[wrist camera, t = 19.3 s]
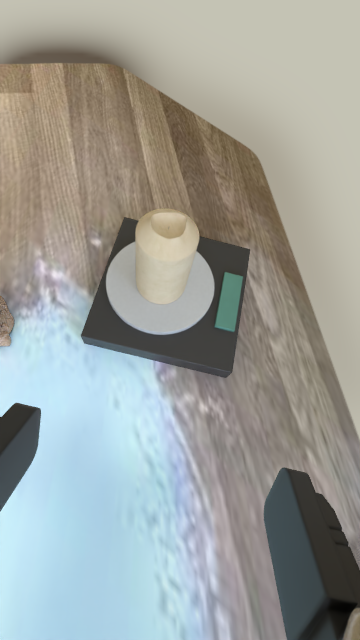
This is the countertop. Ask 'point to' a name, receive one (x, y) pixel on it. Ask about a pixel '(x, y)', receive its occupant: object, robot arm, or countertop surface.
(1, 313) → the figurine
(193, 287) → the kitchen scale
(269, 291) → the countertop surface
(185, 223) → the candle
